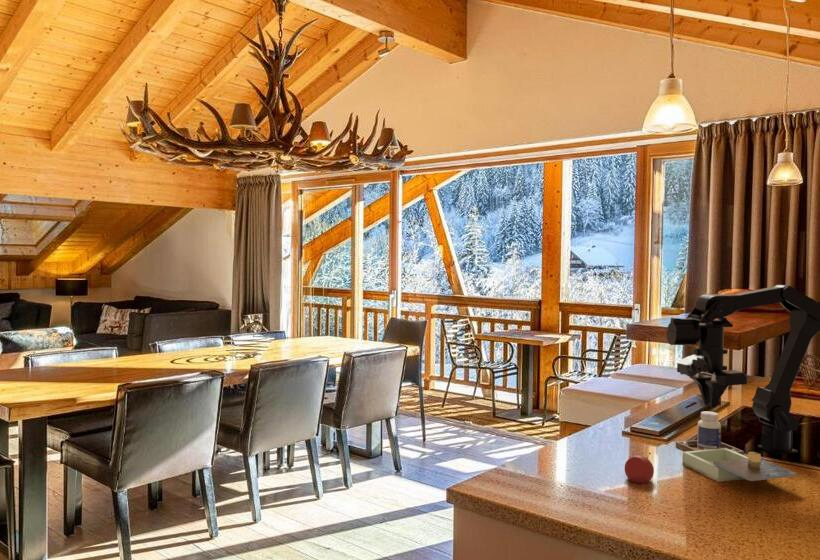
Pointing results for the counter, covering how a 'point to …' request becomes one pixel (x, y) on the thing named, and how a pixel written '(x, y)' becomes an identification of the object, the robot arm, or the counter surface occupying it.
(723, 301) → the robot arm
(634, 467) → the fruit
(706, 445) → the pill bottle
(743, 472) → the lid
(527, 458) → the counter surface
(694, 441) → the frame
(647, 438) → the counter surface
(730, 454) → the box
